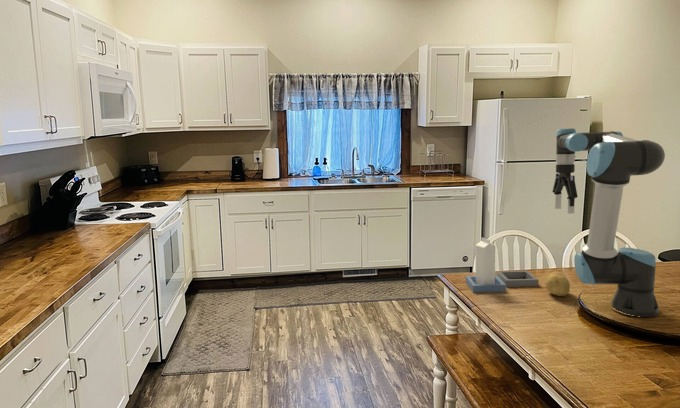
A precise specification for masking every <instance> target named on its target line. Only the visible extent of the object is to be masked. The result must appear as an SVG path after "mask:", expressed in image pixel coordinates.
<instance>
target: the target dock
mask: <svg viewBox="0 0 680 408" xmlns="http://www.w3.org/2000/svg"><path fill="white" fill-rule="evenodd" d="M465 283H466V285H467V284H468V285H467V286H468V288H469V287H470V288H471V289H470V288H469V289H470V290H471V292H472V291H473V292H472V293H495V292H496V293H501V292H507V287H506V284H505V283H504V282H503V281H502V280H501V279H500V278H499V277H498V276H497V274H495V284H477V285H476V275H466V276H465Z"/></svg>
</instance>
